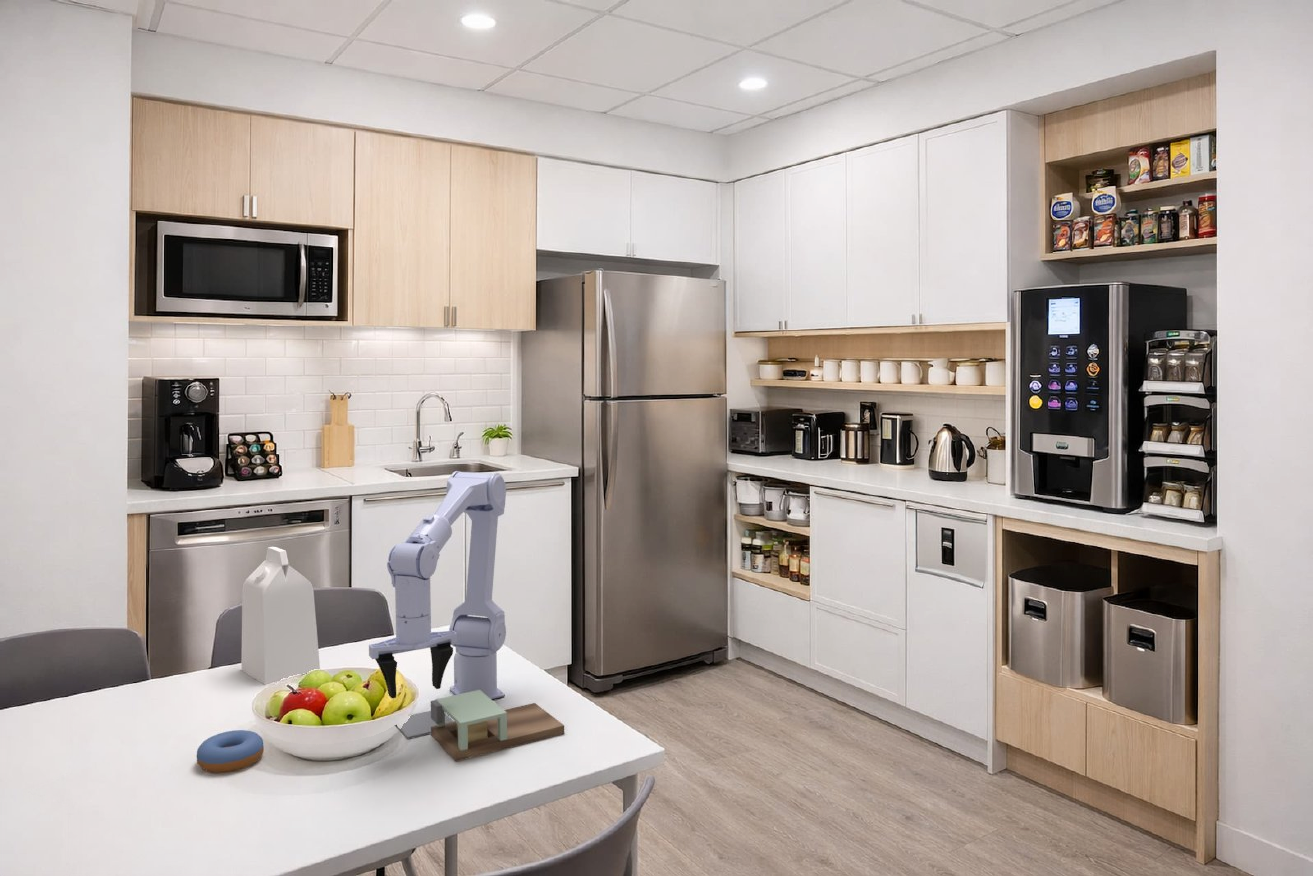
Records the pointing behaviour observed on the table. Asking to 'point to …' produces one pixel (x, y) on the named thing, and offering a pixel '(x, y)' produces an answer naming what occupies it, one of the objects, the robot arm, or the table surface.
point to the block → (476, 731)
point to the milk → (278, 621)
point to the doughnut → (230, 751)
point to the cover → (468, 713)
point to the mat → (420, 724)
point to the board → (521, 729)
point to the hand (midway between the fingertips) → (414, 691)
